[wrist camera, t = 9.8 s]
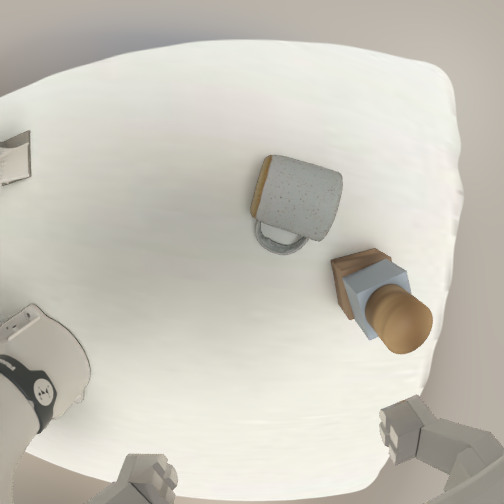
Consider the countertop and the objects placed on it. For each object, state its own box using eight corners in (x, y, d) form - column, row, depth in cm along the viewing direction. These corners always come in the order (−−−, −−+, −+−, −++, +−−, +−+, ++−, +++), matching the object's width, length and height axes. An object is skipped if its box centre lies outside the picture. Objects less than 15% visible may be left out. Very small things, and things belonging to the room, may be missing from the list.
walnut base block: (338, 303, 37) (349, 320, 32) (330, 259, 36) (341, 271, 31) (380, 291, 37) (395, 305, 32) (374, 248, 36) (391, 257, 31)
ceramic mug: (264, 154, 33) (266, 147, 26) (331, 173, 34) (351, 172, 26) (241, 241, 36) (237, 258, 28) (307, 258, 36) (320, 279, 29)
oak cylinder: (367, 335, 27) (386, 361, 23) (361, 292, 26) (381, 314, 22) (409, 320, 27) (432, 342, 22) (405, 277, 26) (431, 295, 21)
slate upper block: (354, 319, 32) (369, 340, 28) (341, 277, 31) (356, 294, 26) (396, 300, 32) (415, 318, 27) (386, 258, 31) (406, 271, 26)
